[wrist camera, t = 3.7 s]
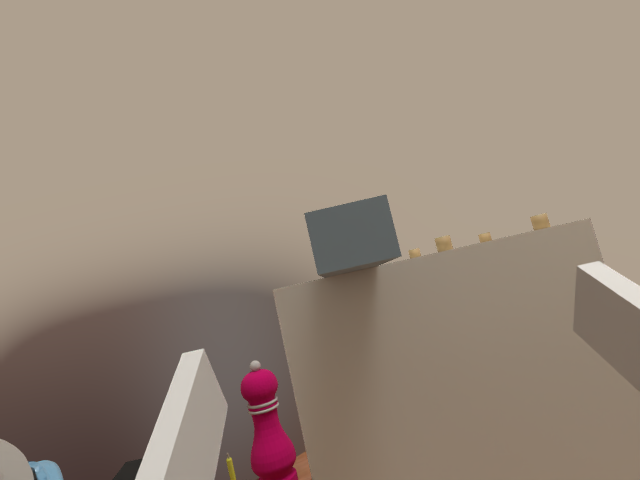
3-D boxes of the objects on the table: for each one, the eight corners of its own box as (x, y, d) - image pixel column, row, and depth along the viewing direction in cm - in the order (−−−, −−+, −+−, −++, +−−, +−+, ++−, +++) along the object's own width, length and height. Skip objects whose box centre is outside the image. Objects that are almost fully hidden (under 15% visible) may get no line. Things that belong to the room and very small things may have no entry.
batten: (401, 255, 19) (386, 194, 19) (317, 275, 19) (304, 213, 19) (362, 272, 46) (356, 247, 47) (329, 279, 46) (323, 254, 47)
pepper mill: (292, 470, 68) (268, 353, 70) (308, 485, 62) (281, 356, 64) (251, 488, 65) (228, 365, 67) (263, 505, 58) (237, 369, 61)
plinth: (727, 663, 26) (585, 202, 29) (365, 737, 26) (269, 273, 30) (547, 488, 48) (479, 236, 51) (352, 530, 48) (297, 277, 52)
